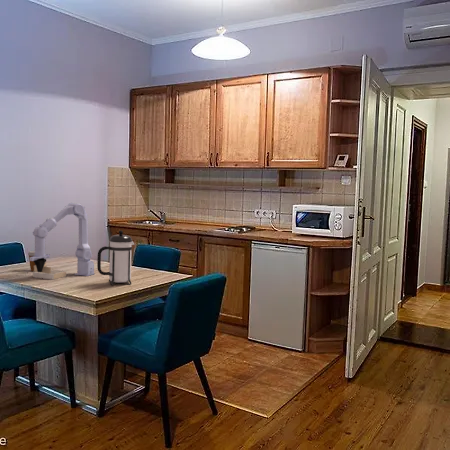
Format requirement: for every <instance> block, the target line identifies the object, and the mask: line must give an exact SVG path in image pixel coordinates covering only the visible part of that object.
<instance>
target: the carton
mask: <svg viewBox="0 0 450 450" xmlns="http://www.w3.org/2000/svg"><path fill="white" fill-rule="evenodd" d="M65 277H67V271H66V270H58V269H51V273H42V272H34V271H32V278H36V279H42V278H43V280H50V281H51V280H54V281H55V280H58V279H61V278H65Z"/></svg>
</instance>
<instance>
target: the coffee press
mask: <svg viewBox="0 0 450 450" xmlns="http://www.w3.org/2000/svg"><path fill="white" fill-rule="evenodd" d="M108 242H109V246H107V245H106V246H101V247H100V248H99V249H98V251H97V257H96V258H97V261H96V263H97V265H96V266H97V267H96V268H97V271H98V273H99V274H100V275H101V276H109V278H108V282H109V283H110V285H111V286H114V285H116V283H118V284H120V283H127V285H128V286H130V285H132V281H131V279H132V250H133V246H135V245H136V244H135V243H134V241H133V239H132V237H131V236H130V235H127V234H124V231H123V230H119V231H118V234H114V235H111V236H110V238H109V240H108ZM106 250H109V263H108V264H109V268H108V269H109V271H103V270H102V269H101V267H102V266H101V264H102V263H101V262H102V252H103V251H106Z"/></svg>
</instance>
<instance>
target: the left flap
mask: <svg viewBox="0 0 450 450" xmlns="http://www.w3.org/2000/svg"><path fill="white" fill-rule="evenodd" d="M51 270H52V267H51V266H47V267H43V270H42V273H51ZM36 272H38V271H37V267H36Z"/></svg>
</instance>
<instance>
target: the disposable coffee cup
mask: <svg viewBox="0 0 450 450" xmlns="http://www.w3.org/2000/svg"><path fill="white" fill-rule="evenodd" d="M27 254H28V259H29V267H30V271H31V272H34V265H35V263H34V261H30V257H33V256H35V250H30V251H28V253H27ZM35 272H36V271H35Z"/></svg>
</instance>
